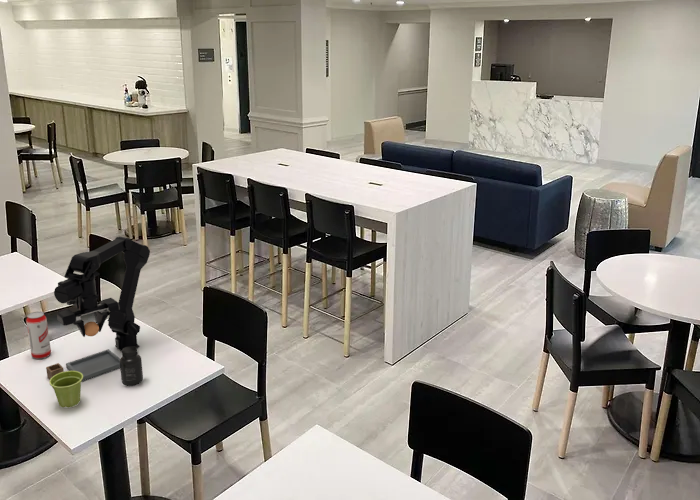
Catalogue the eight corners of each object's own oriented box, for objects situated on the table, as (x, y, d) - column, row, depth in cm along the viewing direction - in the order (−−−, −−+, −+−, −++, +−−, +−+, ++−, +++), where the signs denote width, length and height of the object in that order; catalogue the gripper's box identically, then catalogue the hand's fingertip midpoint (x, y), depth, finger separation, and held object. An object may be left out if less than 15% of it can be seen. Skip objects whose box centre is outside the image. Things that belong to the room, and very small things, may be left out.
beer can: (55, 351, 216) (49, 311, 211) (44, 360, 210) (38, 319, 205) (38, 350, 216) (32, 310, 211) (27, 359, 211) (21, 317, 205)
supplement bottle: (147, 378, 202) (145, 346, 198) (134, 388, 196) (131, 356, 192) (130, 374, 204) (127, 342, 200) (117, 384, 198) (113, 352, 194)
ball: (95, 330, 207) (94, 317, 205) (102, 335, 203) (100, 322, 202) (81, 335, 203) (79, 321, 202) (87, 340, 200) (86, 327, 198)
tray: (108, 353, 217) (108, 349, 216) (124, 366, 209) (124, 362, 208) (66, 368, 206) (65, 363, 206) (81, 382, 198) (80, 377, 198)
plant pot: (61, 415, 181) (58, 390, 178) (47, 402, 187) (43, 378, 184) (91, 402, 188) (88, 378, 185) (76, 390, 194) (73, 367, 191)
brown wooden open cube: (59, 373, 203) (58, 363, 202) (64, 378, 200) (63, 367, 199) (47, 377, 200) (46, 367, 199) (52, 382, 198) (50, 371, 196)
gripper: (103, 277, 209) (107, 317, 215) (47, 291, 197) (53, 333, 202) (118, 287, 202) (122, 328, 207) (61, 302, 189) (67, 346, 195)
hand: (91, 333), depth 203 cm, fingers closed on ball, 5 cm apart
